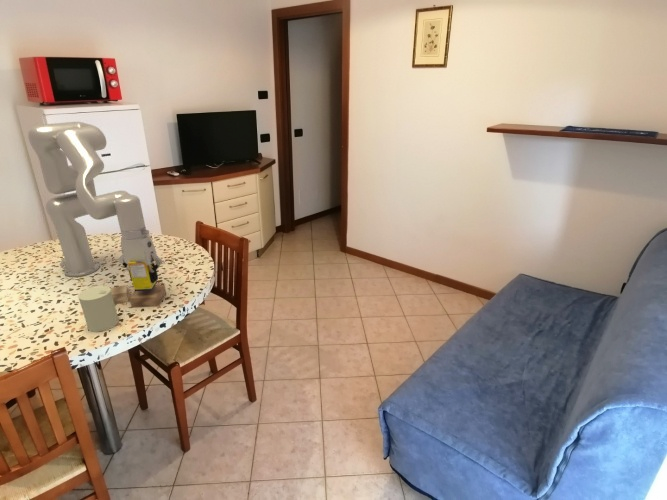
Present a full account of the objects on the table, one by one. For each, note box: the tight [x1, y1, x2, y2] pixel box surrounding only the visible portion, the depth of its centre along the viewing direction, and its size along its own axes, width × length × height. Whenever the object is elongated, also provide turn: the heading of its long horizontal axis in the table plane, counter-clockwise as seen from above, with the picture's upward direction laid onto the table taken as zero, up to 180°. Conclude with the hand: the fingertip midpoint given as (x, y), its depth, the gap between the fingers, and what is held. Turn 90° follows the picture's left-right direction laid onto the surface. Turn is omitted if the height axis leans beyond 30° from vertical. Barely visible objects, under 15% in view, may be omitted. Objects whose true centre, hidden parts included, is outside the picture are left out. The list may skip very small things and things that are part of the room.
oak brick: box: [110, 284, 131, 305], centre depth 146 cm, size 6×6×4 cm
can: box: [77, 285, 120, 333], centre depth 130 cm, size 9×9×12 cm
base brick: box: [129, 284, 167, 309], centre depth 145 cm, size 9×9×4 cm
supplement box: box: [128, 261, 158, 292], centre depth 141 cm, size 6×6×11 cm
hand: (144, 279), depth 142 cm, fingers closed on supplement box, 6 cm apart
